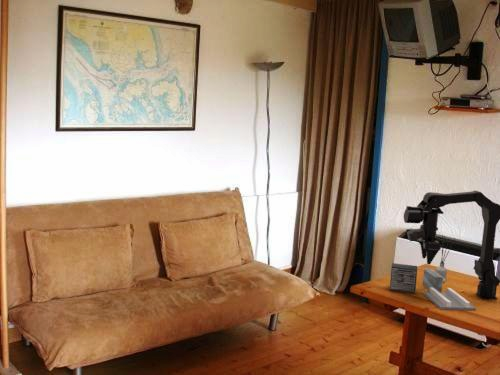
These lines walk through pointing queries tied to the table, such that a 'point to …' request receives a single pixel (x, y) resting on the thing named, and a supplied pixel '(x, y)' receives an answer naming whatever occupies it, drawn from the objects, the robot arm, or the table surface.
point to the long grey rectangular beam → (432, 279)
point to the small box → (403, 278)
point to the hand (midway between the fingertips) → (426, 261)
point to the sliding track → (448, 300)
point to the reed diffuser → (441, 269)
